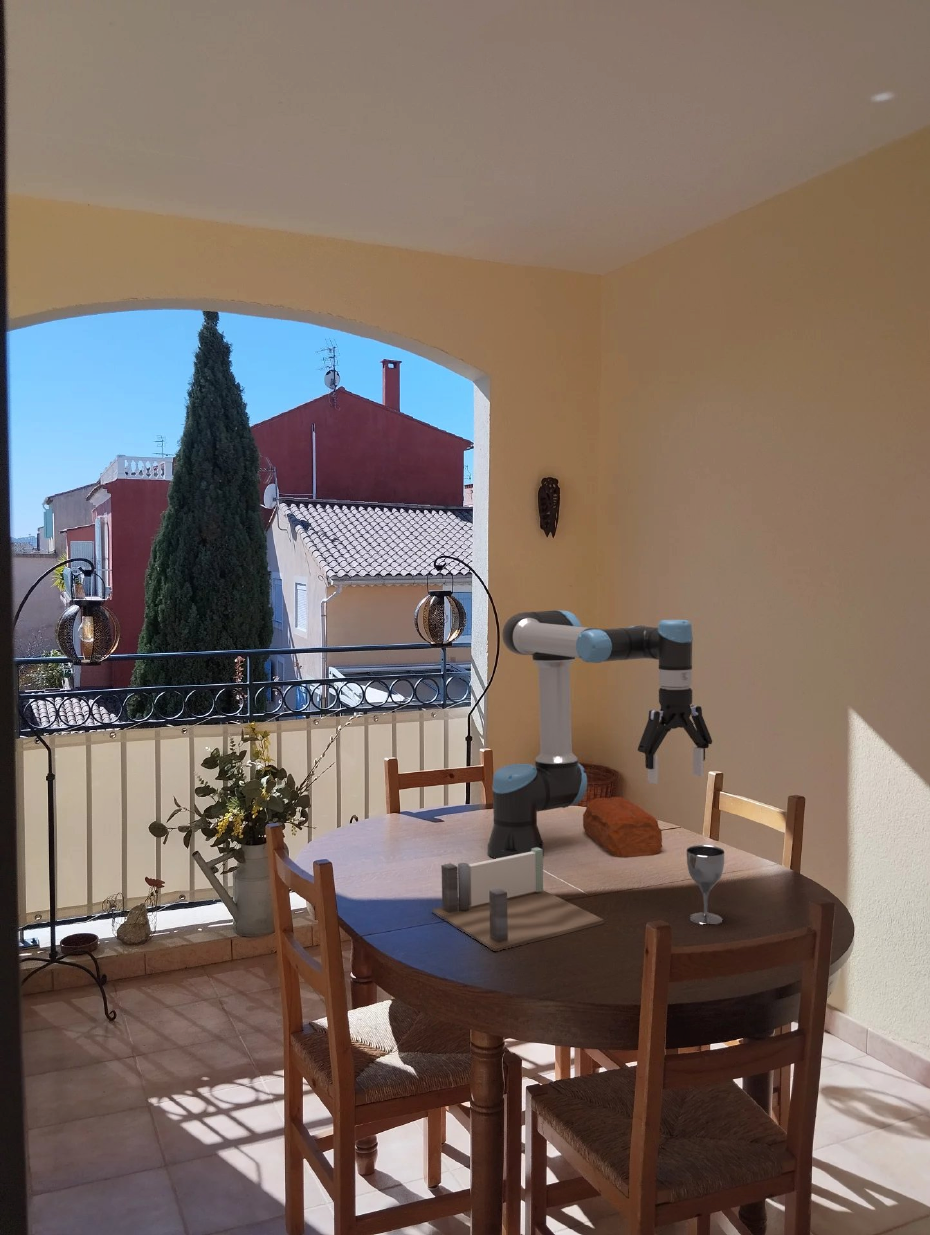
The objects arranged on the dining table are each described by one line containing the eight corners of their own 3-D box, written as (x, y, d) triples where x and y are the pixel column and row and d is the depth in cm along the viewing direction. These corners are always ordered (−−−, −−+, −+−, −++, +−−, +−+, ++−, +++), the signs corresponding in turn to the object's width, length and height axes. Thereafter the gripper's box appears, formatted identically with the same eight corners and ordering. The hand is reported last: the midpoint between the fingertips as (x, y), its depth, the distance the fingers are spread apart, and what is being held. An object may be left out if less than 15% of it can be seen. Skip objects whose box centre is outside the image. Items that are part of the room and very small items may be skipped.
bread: (630, 828, 279) (629, 792, 278) (667, 855, 253) (666, 815, 252) (579, 832, 276) (578, 796, 275) (611, 859, 250) (610, 819, 249)
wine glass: (725, 914, 209) (725, 846, 208) (723, 927, 201) (723, 857, 201) (688, 910, 212) (688, 844, 211) (685, 923, 204) (684, 854, 203)
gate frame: (432, 913, 213) (431, 865, 212) (534, 889, 227) (534, 844, 227) (494, 952, 191) (493, 899, 190) (604, 923, 205) (603, 874, 204)
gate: (462, 911, 211) (461, 866, 210) (456, 908, 213) (455, 863, 212) (543, 892, 222) (543, 849, 222) (537, 889, 224) (537, 847, 224)
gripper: (643, 693, 208) (643, 789, 210) (727, 684, 220) (727, 775, 222) (621, 689, 215) (622, 782, 216) (704, 681, 227) (705, 769, 228)
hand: (675, 779), depth 219 cm, fingers open, 13 cm apart
